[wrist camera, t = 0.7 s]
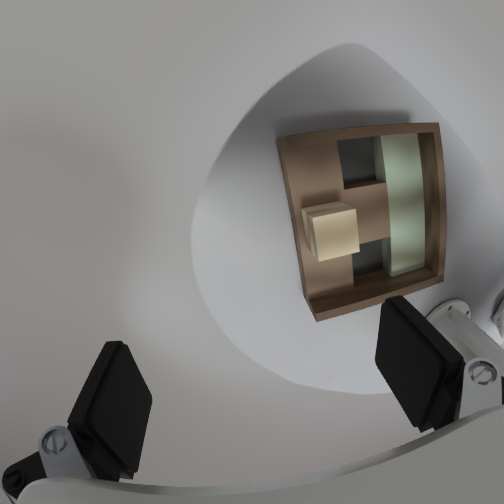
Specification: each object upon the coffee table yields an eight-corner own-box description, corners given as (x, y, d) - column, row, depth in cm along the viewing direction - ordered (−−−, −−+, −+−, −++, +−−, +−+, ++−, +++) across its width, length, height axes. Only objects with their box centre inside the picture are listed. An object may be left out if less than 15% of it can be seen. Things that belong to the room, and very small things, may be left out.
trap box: (419, 264, 34) (443, 281, 28) (303, 296, 33) (316, 321, 28) (410, 124, 27) (438, 122, 22) (275, 139, 27) (286, 136, 22)
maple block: (343, 238, 29) (359, 251, 25) (307, 247, 29) (318, 261, 25) (339, 200, 27) (355, 208, 24) (301, 208, 27) (312, 217, 24)
